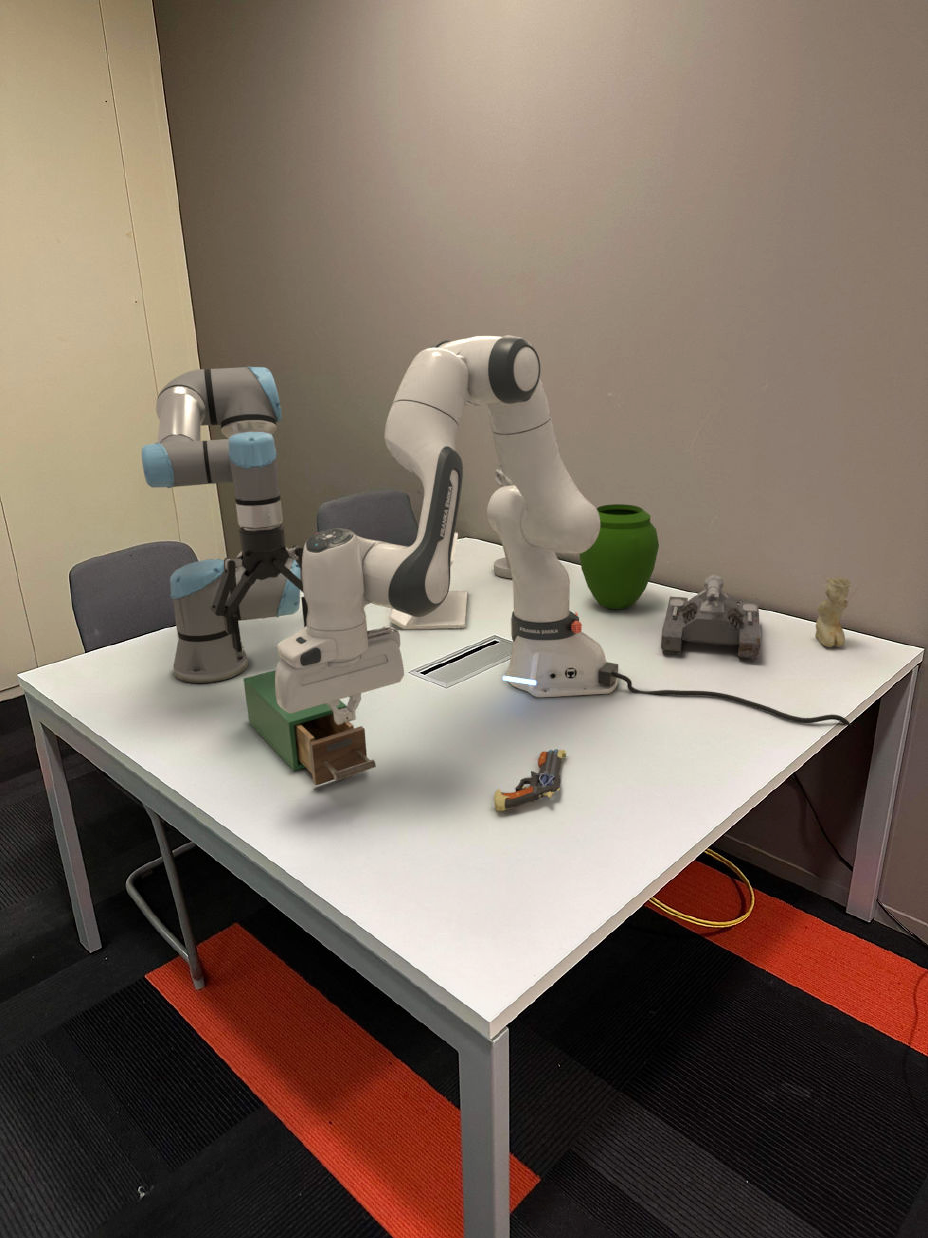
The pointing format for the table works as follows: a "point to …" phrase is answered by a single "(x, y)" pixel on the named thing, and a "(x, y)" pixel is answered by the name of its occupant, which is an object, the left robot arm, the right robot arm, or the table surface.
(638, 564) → the vase
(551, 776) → the toy gun
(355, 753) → the drawer
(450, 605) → the tablet stand
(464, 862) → the table surface
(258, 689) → the cabinet
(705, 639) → the toy
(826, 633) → the sculpture
